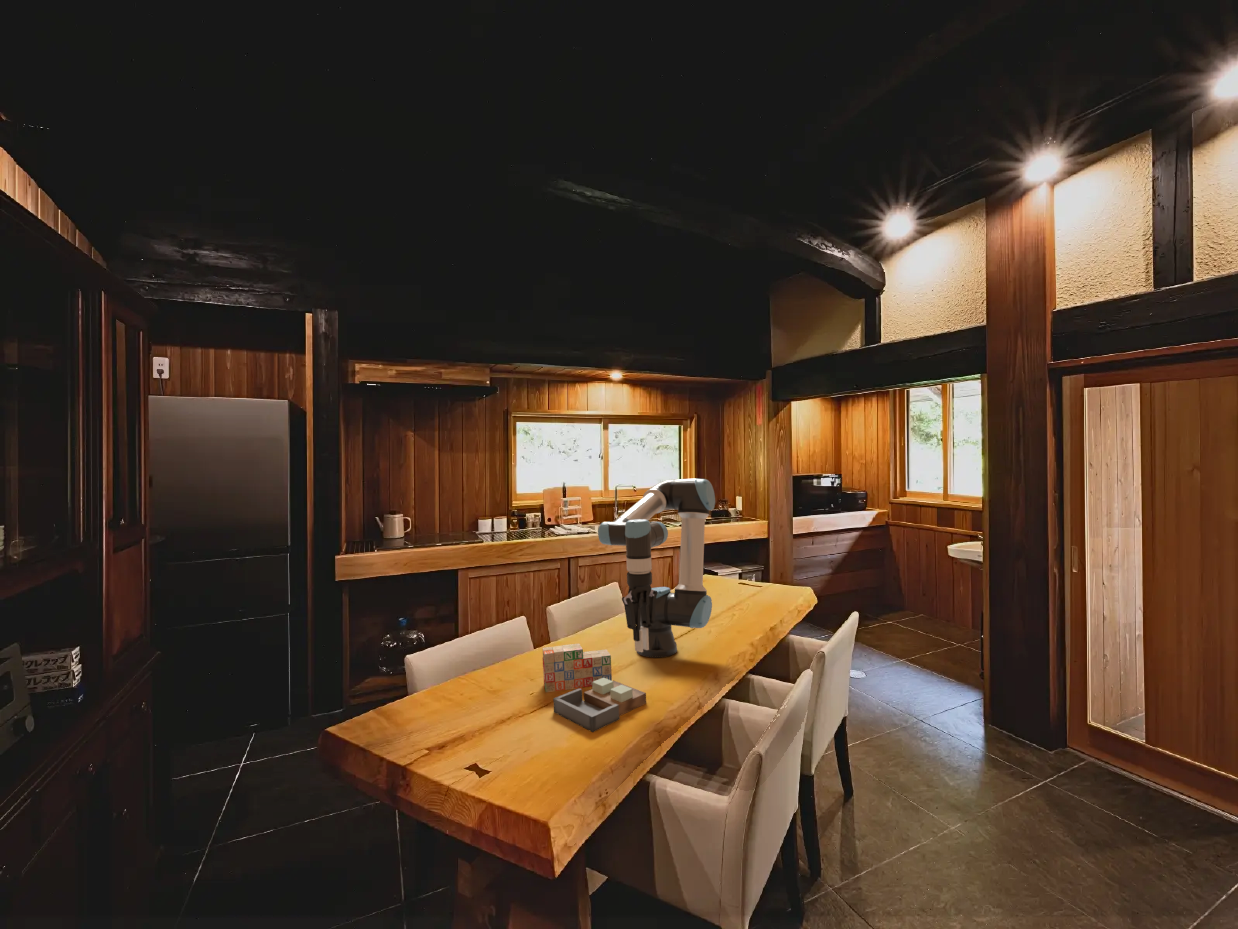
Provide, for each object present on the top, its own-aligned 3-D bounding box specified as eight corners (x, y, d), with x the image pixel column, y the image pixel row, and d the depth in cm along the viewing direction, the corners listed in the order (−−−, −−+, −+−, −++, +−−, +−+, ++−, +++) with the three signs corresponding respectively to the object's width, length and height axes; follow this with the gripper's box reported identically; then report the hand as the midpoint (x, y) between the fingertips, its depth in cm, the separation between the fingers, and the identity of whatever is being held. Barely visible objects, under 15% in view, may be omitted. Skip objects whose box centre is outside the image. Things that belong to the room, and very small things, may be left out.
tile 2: (621, 693, 160) (621, 684, 160) (632, 697, 157) (632, 688, 157) (610, 698, 157) (610, 689, 157) (621, 702, 154) (621, 693, 154)
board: (613, 690, 170) (613, 680, 170) (646, 703, 160) (645, 693, 160) (584, 702, 162) (583, 692, 162) (616, 717, 151) (616, 706, 151)
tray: (580, 701, 163) (579, 688, 163) (619, 719, 150) (619, 704, 150) (553, 712, 156) (553, 698, 156) (592, 732, 144) (592, 717, 144)
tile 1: (603, 685, 166) (603, 677, 166) (613, 689, 163) (613, 681, 163) (592, 690, 163) (592, 682, 163) (602, 694, 160) (602, 686, 160)
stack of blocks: (608, 677, 181) (606, 640, 181) (612, 684, 175) (610, 646, 175) (543, 685, 176) (542, 647, 176) (545, 693, 170) (543, 653, 170)
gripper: (647, 566, 171) (649, 641, 171) (612, 574, 161) (615, 653, 161) (665, 569, 166) (667, 646, 166) (630, 577, 155) (633, 659, 155)
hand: (641, 649), depth 163 cm, fingers open, 2 cm apart
